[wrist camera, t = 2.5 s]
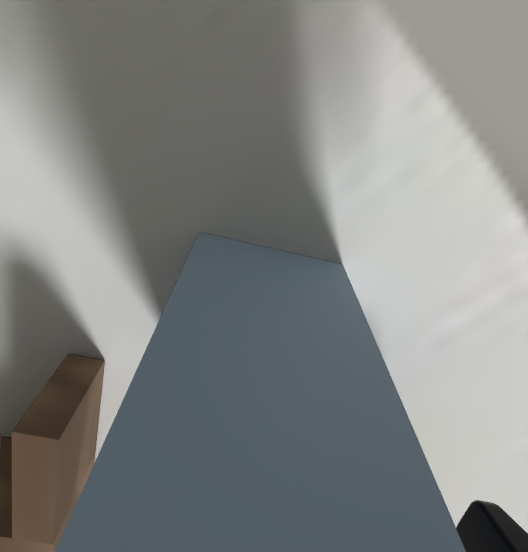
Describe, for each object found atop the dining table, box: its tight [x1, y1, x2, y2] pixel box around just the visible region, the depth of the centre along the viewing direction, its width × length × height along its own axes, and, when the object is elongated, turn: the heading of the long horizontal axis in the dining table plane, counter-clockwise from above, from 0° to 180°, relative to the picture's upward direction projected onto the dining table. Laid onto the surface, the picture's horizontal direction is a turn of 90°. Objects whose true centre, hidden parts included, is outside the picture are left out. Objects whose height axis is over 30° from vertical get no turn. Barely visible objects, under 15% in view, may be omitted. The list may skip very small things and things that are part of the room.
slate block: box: [55, 232, 466, 552], centre depth 9 cm, size 4×4×10 cm
